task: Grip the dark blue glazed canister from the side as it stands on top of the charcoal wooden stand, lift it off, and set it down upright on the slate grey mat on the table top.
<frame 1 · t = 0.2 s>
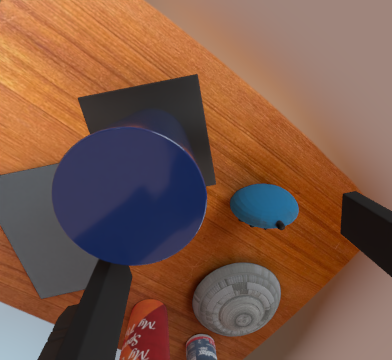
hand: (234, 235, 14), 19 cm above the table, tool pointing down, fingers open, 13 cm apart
stand: (159, 126, 30), on the table
flying saucer: (234, 292, 41), on the table
coffee cup: (149, 311, 41), on the table
ornament: (252, 192, 35), on the table
canister: (152, 145, 19), point 12 cm above the table, touching stand
pill bottle: (199, 342, 44), on the table
mat: (62, 233, 34), on the table
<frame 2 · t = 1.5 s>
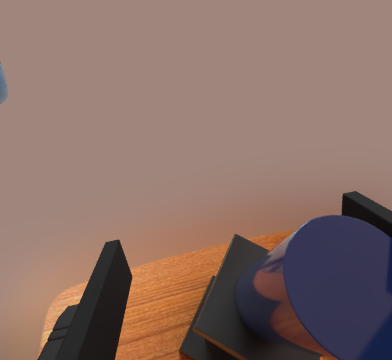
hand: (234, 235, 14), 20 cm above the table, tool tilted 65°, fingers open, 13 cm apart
stand: (230, 331, 28), on the table
canister: (270, 299, 19), point 13 cm above the table, tilted 15°, touching stand
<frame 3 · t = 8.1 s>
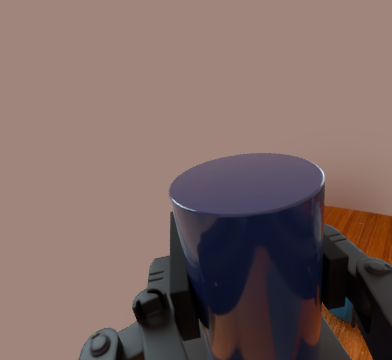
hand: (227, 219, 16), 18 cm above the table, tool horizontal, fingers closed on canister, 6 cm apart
when the fingers open (6 cm above the table, at t = 17.7 s): canister stays where it is, resting on mat.
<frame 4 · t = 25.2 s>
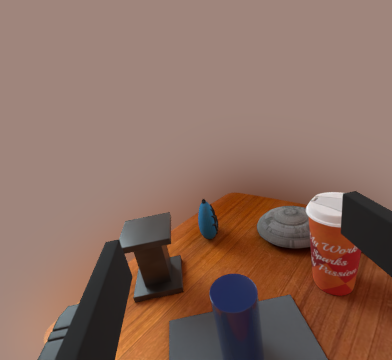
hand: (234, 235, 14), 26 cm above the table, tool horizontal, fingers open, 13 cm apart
stand: (160, 279, 48), on the table
flying saucer: (291, 232, 54), on the table
coffee cup: (333, 282, 40), on the table
ornament: (210, 236, 58), on the table
canister: (242, 352, 32), resting on mat
mat: (242, 353, 32), on the table
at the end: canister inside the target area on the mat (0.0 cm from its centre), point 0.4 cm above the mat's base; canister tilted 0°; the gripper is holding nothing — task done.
